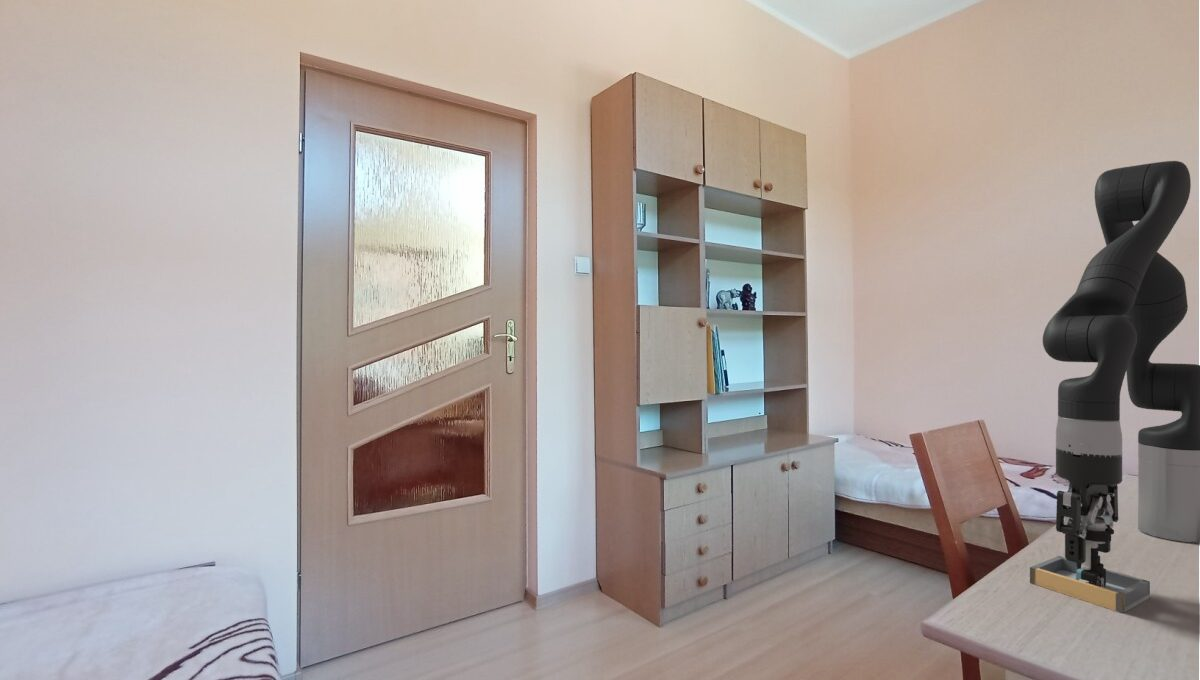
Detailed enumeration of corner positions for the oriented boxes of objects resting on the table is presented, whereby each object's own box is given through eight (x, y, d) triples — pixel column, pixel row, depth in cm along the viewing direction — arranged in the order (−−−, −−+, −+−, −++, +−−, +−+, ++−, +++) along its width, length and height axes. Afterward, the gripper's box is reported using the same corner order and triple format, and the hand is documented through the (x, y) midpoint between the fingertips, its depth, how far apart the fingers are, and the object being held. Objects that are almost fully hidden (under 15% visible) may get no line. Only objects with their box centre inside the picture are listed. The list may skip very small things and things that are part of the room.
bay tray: (1058, 570, 91) (1058, 555, 91) (1149, 597, 81) (1149, 581, 81) (1029, 582, 86) (1029, 567, 86) (1122, 613, 76) (1122, 595, 76)
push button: (1103, 600, 79) (1103, 529, 79) (1057, 586, 84) (1057, 519, 84) (1119, 589, 83) (1119, 521, 83) (1074, 576, 87) (1074, 512, 87)
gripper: (1078, 440, 90) (1078, 540, 90) (1035, 448, 83) (1035, 556, 83) (1140, 448, 84) (1140, 556, 84) (1099, 457, 77) (1099, 575, 77)
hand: (1088, 556), depth 84 cm, fingers open, 8 cm apart
